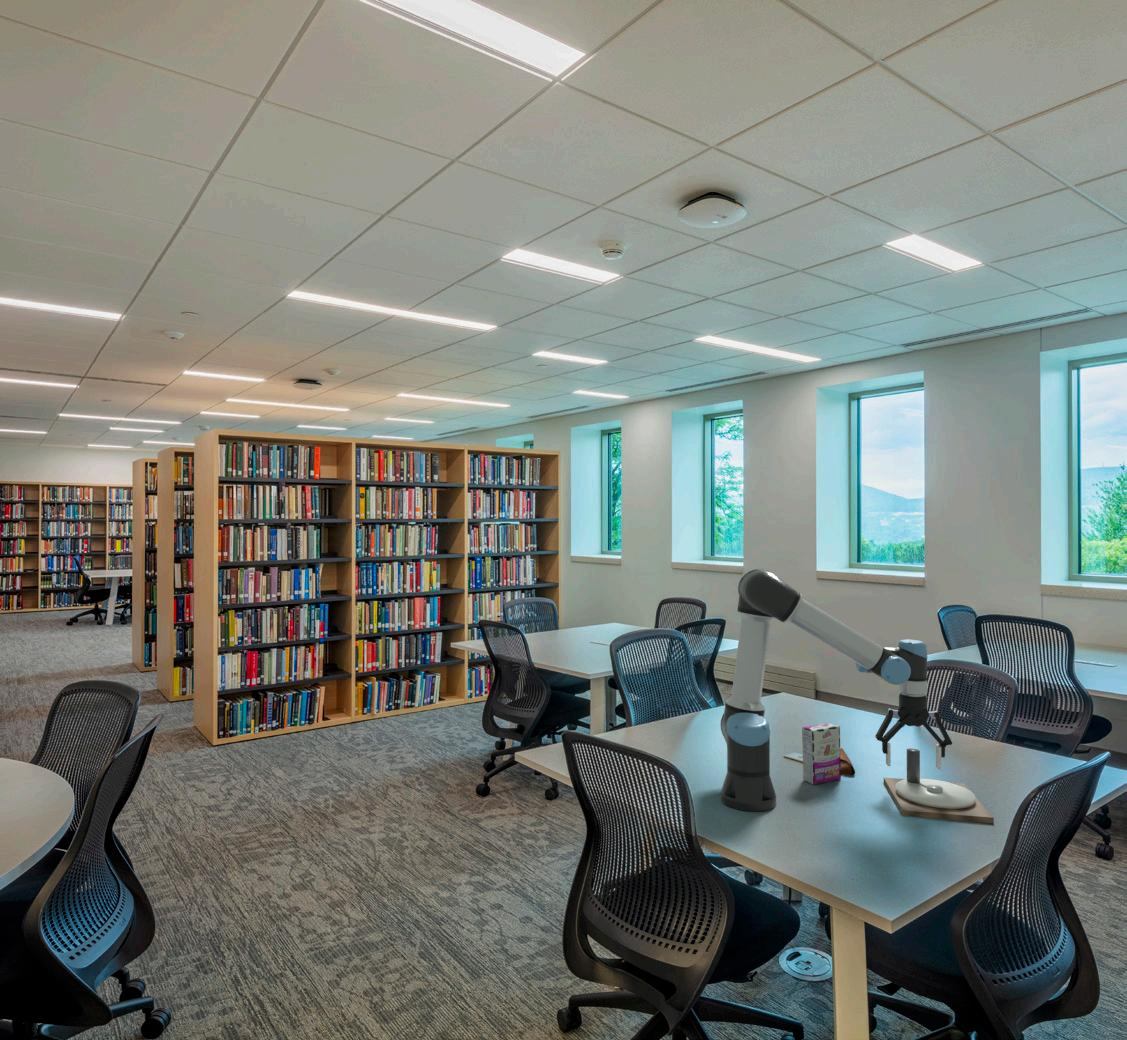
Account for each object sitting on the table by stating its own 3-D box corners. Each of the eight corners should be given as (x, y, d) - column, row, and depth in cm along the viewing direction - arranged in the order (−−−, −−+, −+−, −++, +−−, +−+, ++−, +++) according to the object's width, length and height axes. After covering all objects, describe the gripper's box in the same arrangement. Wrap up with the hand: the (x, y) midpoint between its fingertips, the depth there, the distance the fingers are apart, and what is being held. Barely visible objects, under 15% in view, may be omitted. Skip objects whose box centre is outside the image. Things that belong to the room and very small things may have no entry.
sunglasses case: (818, 756, 246) (829, 739, 245) (837, 768, 245) (848, 751, 244) (826, 773, 228) (838, 756, 228) (847, 786, 227) (858, 769, 227)
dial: (992, 804, 199) (992, 766, 199) (933, 812, 193) (932, 773, 193) (935, 779, 218) (935, 745, 218) (880, 786, 213) (879, 751, 213)
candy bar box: (829, 774, 228) (828, 722, 228) (841, 779, 223) (841, 726, 223) (801, 780, 223) (801, 726, 223) (813, 785, 219) (813, 730, 219)
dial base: (902, 815, 196) (902, 809, 196) (883, 782, 221) (883, 776, 221) (993, 823, 191) (993, 817, 191) (963, 788, 216) (963, 782, 216)
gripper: (956, 693, 214) (956, 765, 214) (865, 688, 220) (865, 759, 220) (963, 698, 207) (964, 774, 207) (869, 694, 213) (869, 767, 213)
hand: (913, 766), depth 214 cm, fingers open, 13 cm apart
